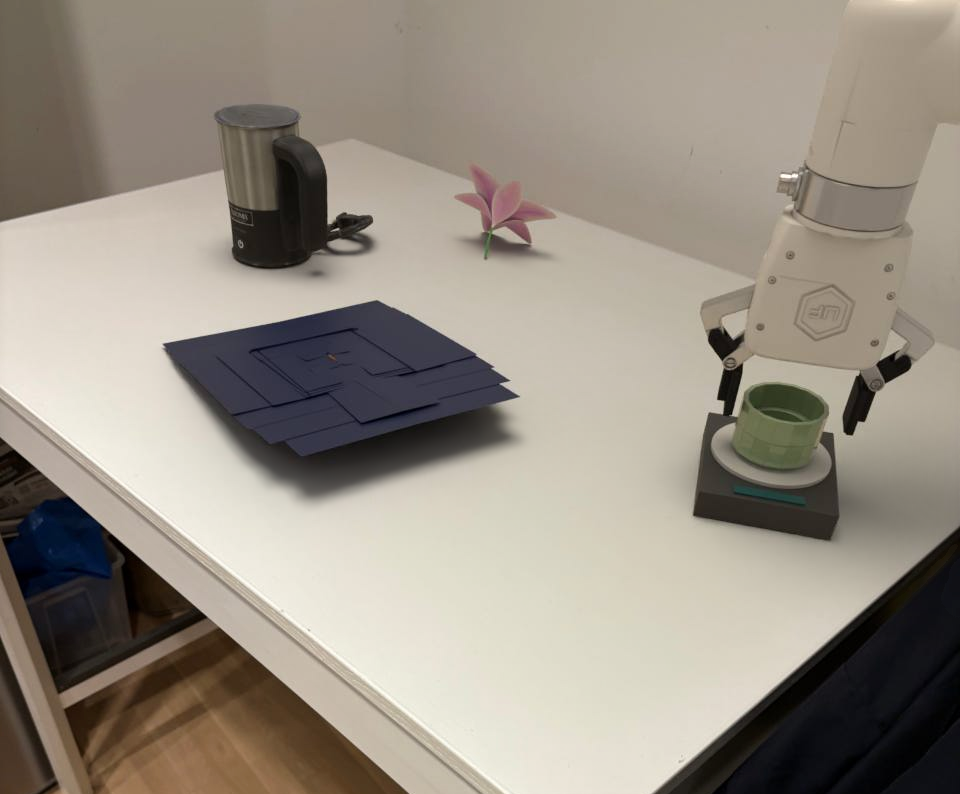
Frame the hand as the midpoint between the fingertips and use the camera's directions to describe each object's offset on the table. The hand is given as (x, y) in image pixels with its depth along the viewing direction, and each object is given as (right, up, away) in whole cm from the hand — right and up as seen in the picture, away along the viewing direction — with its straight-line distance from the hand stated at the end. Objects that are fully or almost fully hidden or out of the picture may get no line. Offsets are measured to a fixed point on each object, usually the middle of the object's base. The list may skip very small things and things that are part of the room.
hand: (786, 417), depth 76 cm
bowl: (-1, -2, +2) cm, 3 cm away
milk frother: (-46, +29, +35) cm, 65 cm away
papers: (-39, +5, +12) cm, 41 cm away
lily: (-23, +30, +39) cm, 54 cm away
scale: (-1, -5, +4) cm, 6 cm away
